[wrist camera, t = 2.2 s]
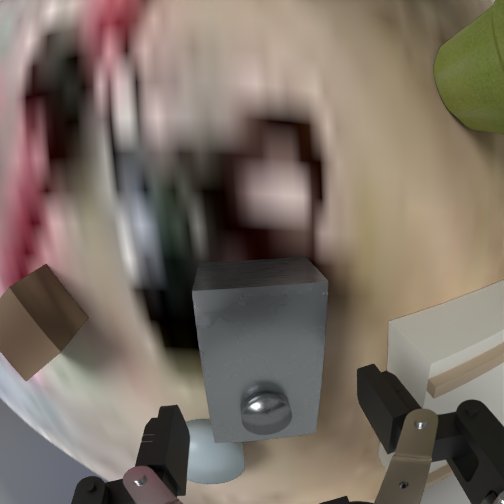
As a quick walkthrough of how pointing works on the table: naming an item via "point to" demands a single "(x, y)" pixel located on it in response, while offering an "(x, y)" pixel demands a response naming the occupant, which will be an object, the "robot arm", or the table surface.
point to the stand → (451, 358)
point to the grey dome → (212, 456)
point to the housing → (261, 346)
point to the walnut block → (37, 321)
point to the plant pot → (475, 72)
